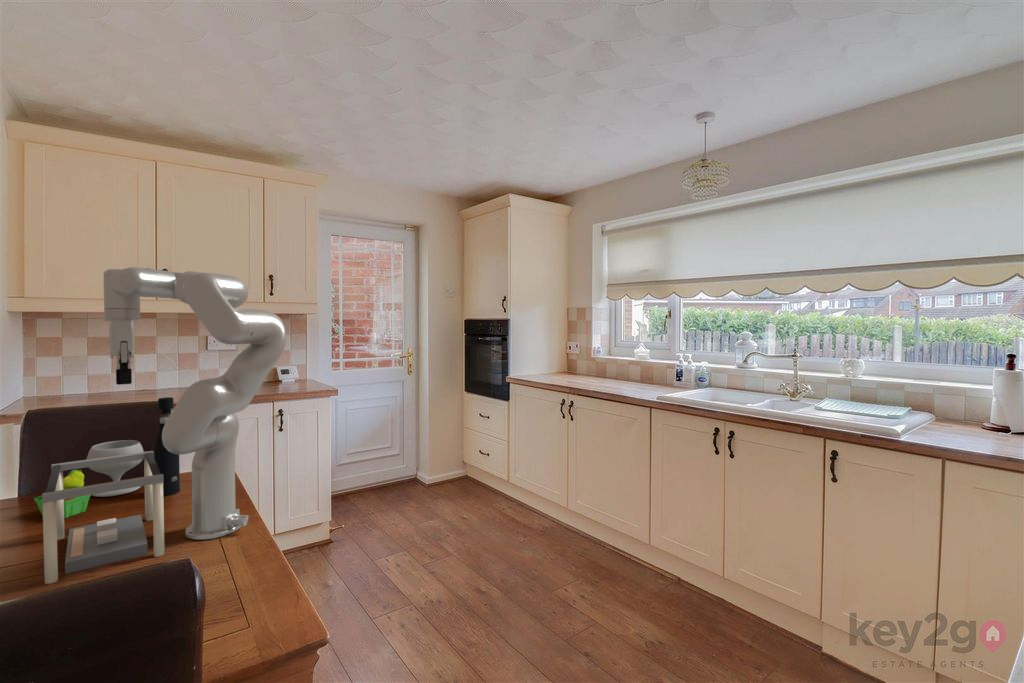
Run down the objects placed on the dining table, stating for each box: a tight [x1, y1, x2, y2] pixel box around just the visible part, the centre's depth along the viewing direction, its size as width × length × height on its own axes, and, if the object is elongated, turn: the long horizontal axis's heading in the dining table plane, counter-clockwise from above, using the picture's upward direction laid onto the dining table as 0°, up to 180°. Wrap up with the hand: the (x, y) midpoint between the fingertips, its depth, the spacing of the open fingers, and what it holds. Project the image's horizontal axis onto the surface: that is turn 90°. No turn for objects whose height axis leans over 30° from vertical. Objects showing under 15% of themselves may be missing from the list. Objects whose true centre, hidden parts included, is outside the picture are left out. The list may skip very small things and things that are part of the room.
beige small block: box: [96, 517, 117, 532], centre depth 117 cm, size 2×4×2 cm, turn 131°
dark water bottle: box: [153, 396, 181, 497], centre depth 150 cm, size 6×6×30 cm
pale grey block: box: [97, 528, 118, 545], centre depth 111 cm, size 2×4×2 cm, turn 131°
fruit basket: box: [34, 469, 92, 519], centre depth 135 cm, size 11×9×11 cm
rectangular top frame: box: [41, 450, 164, 503], centre depth 114 cm, size 28×20×2 cm
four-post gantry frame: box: [42, 459, 165, 585], centre depth 114 cm, size 28×20×17 cm
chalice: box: [86, 439, 145, 498], centre depth 152 cm, size 14×14×15 cm
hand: (124, 383), depth 129 cm, fingers closed
